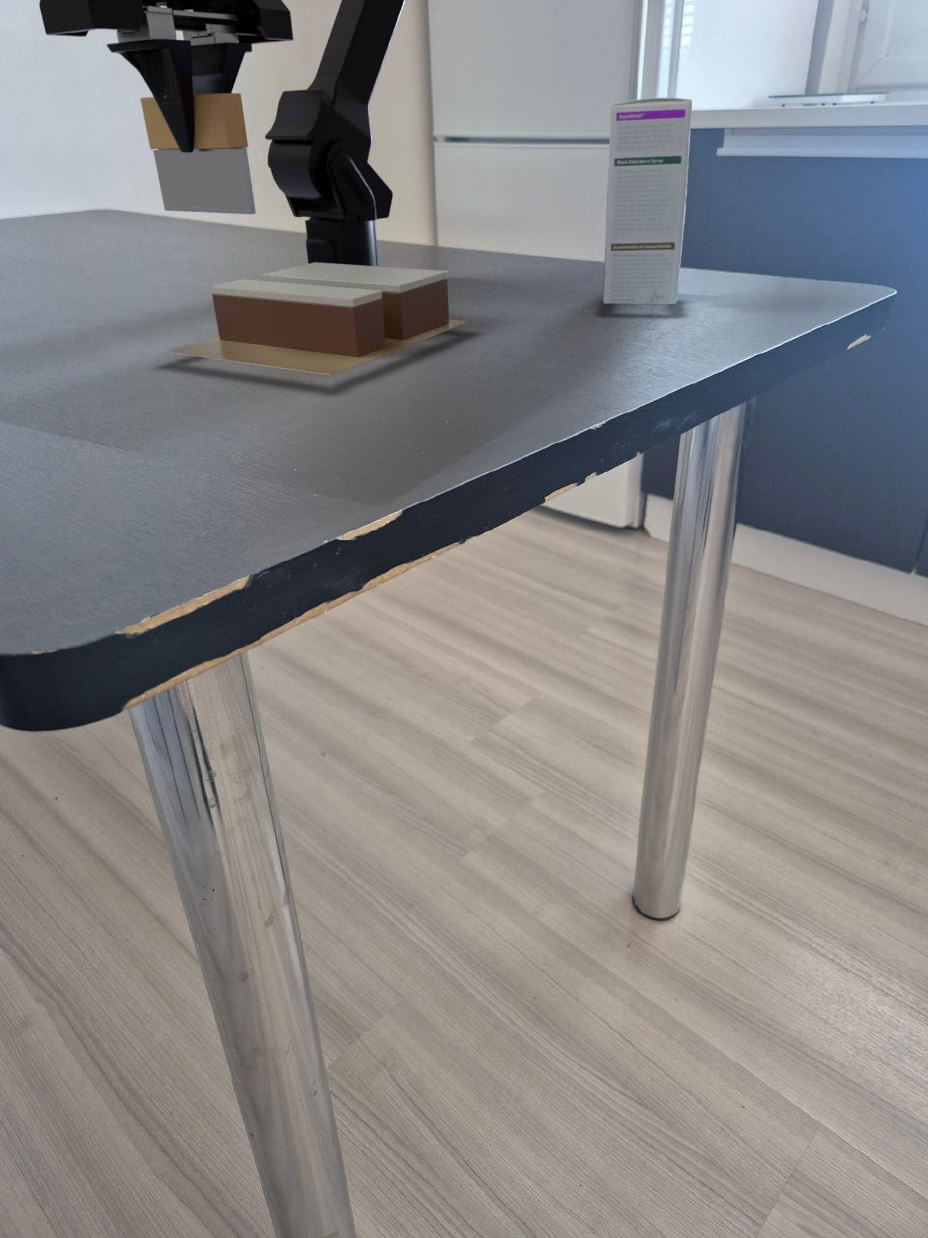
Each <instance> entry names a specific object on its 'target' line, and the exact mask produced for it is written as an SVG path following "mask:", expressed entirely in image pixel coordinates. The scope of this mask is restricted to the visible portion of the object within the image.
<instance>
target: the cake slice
mask: <svg viewBox="0 0 928 1238" xmlns="http://www.w3.org/2000/svg"><path fill="white" fill-rule="evenodd" d="M210 290H211V297H212V302H213V308H214V315H215V320H216V326H217V331H218V336H219V338H220V340H228V341H235V342H243V343H251V344H259V345H267V346H275V347H283V348H290V349H298V350H306V351H314V352H322V353H330V354H338V355H345V356H353V357H360V356H363V355H365V354H368V353H371V352H373V351H376V350H378V349H381V348H384V347H385V346H386V345H385V332H384V318H383V305H382V292H381V291H380V290H367V289H355V288H343V287H331V286H318V285H306V284H294V283H282V282H269V281H262V280H256V279H243V278H241V279H237V280H233V281H227V282H224V283H219V284H215V285H211V286H210Z"/></svg>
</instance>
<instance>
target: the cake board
mask: <svg viewBox="0 0 928 1238" xmlns="http://www.w3.org/2000/svg"><path fill="white" fill-rule="evenodd" d="M468 322H469V321H467V320H458V319H449V323H446V324H444V325H441V326H438V327H436V328H433V329H431V330H428V331H425V332H423V333H420V334H417V335H415V336H412V337H409V338H407V339H404V340H398V339H389V338H385V345H386V346H385V347H384V348H381V349H378V350H376V351H373V352H371V353H368V354H365V355H363V356H360V357H353V356H345V355H338V354H330V353H322V352H314V351H306V350H298V349H290V348H283V347H275V346H267V345H259V344H251V343H243V342H235V341H228V340H220V338H219V335H217V336H214V337H209V338H206V339H203V340H200V341H197V342H193V343H190V344H185V345H182V346H179V347H176V348H172V349H168V350H166V351H165V353H169V354H177V355H183V356H184V355H185V356H192V357H197V358H198V357H199V358H204V359H212V360H218V361H226V362H232V363H240V364H248V365H254V366H262V367H269V368H275V369H282V370H289V371H297V372H304V373H311V374H318V375H325V376H333V375H334V376H335V375H336V374H339V373H342V372H344V371H346V370H349V369H351V368H354V367H357V366H359V365H363V364H364V363H367V362H370V361H372V360H375V359H377V358H380V357H382V356H386V355H387V354H390V353H393V352H395V351H398V350H400V349H403V348H406V347H408V346H411V345H413V344H415V343H419V342H421V341H424V340H426V339H429V338H432V337H433V336H436V335H438V334H441V333H444V332H446V331H449V330H451V329H454V328H456V327H459V326H462V325H464V324H467V323H468Z"/></svg>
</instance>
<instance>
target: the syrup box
mask: <svg viewBox="0 0 928 1238" xmlns="http://www.w3.org/2000/svg"><path fill="white" fill-rule="evenodd" d="M692 109H693V101H692V99H690V98H680V97H647V98H640V99H639V98H637V99H632V100H627V101H622V102H615V103H613V104H612V105H611V106H610V121H609V122H610V123H609V144H608V145H609V148H608V170H607V171H608V172H607V194H606V218H605V248H604V253H605V254H604V273H603V299H602V300H603V304H615V305H616V304H622V305H623V304H624V305H625V304H626V305H627V304H630V305H631V304H632V305H676V304H677V302H678V296H679V285H680V274H681V262H682V251H683V240H684V231H685V221H686V219H685V218H686V210H687V209H686V208H687V195H688V182H689V181H688V178H689V164H690V163H689V162H690V145H691V128H692V127H691V125H692V111H693V110H692Z"/></svg>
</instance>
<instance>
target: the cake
mask: <svg viewBox="0 0 928 1238" xmlns="http://www.w3.org/2000/svg"><path fill="white" fill-rule="evenodd" d="M448 278H449V273H448V270H435V269H421V268H420V269H419V268H408V267H407V268H406V267H405V268H404V267H390V266H389V267H388V266H379V267H377V266H361V265H346V264H331V263H316V262H315V263H310V264H308V263H306V264H302V265H298V266H297V265H296V266H293V267H289V268H285V269H280V270H275V271H271V272H266V273H263V274H261V281H269V282H282V283H294V284H306V285H318V286H331V287H343V288H355V289H367V290H380V291H381V292H382V305H383V318H384V332H385V338H389V339H398V340H404V339H407V338H409V337H412V336H415V335H417V334H420V333H423V332H425V331H428V330H431V329H433V328H436V327H438V326H441V325H444V324H446V323H449V320H450V304H449V303H450V302H449V279H448Z"/></svg>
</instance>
